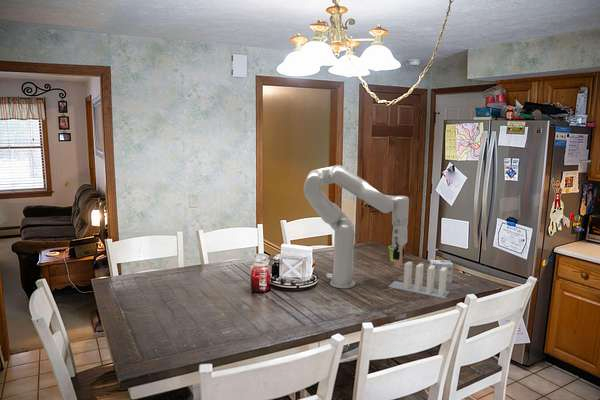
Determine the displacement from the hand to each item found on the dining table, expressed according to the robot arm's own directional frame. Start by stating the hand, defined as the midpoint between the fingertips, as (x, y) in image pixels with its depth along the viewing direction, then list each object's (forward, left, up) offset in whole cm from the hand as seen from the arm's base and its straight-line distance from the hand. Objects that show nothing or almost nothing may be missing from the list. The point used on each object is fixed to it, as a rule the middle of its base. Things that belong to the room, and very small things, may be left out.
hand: (398, 257), depth 219 cm
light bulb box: (+16, +20, -15) cm, 30 cm away
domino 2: (+5, 0, -14) cm, 15 cm away
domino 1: (0, 0, -4) cm, 4 cm away
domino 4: (+16, 0, -14) cm, 21 cm away
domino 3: (+11, 0, -14) cm, 18 cm away
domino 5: (+22, 0, -14) cm, 26 cm away
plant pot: (-15, +42, -15) cm, 47 cm away
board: (+11, 0, -15) cm, 18 cm away
